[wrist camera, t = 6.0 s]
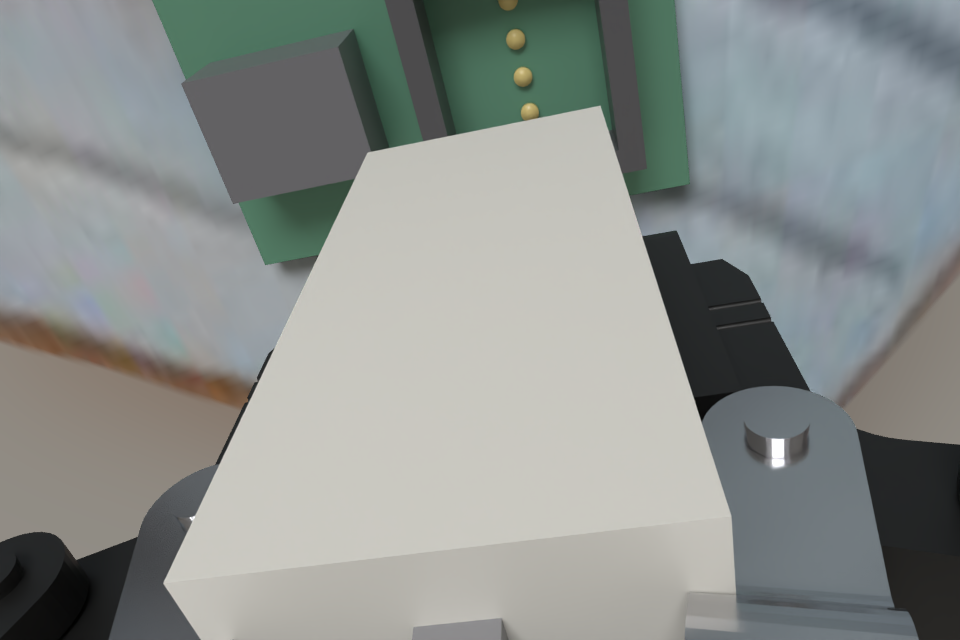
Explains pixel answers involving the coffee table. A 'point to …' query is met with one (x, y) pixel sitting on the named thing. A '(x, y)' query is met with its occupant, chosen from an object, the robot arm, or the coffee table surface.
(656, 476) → the plug
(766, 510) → the robot arm
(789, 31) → the coffee table surface
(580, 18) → the header board
